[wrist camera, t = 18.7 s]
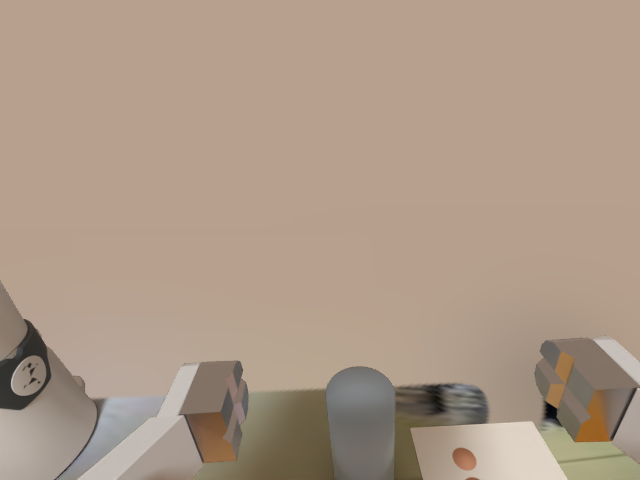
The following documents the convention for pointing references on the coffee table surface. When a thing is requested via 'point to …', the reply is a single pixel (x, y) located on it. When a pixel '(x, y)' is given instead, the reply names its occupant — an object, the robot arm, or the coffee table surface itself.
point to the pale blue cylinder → (361, 424)
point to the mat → (484, 452)
